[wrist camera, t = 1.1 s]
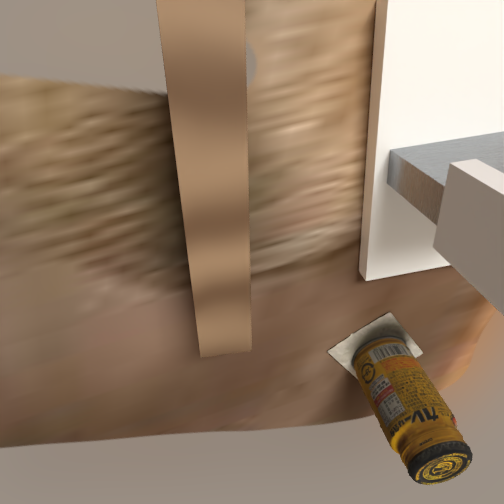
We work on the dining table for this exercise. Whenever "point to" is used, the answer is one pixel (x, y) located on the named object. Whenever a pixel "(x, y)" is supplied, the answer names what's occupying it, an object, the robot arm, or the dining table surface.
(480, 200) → the robot arm
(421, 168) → the steel ridge
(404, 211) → the white board
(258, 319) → the dining table surface
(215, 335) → the walnut batten
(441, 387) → the dining table surface
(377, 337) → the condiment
